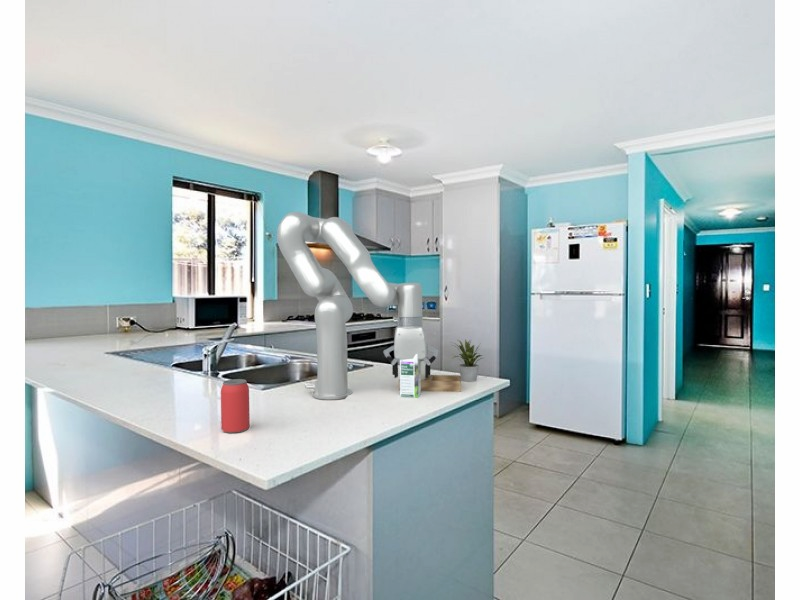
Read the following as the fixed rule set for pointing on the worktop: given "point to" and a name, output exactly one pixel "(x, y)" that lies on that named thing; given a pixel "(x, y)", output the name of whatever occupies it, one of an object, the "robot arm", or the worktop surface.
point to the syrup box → (410, 377)
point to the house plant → (468, 362)
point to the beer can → (235, 406)
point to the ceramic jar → (423, 370)
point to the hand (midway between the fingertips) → (411, 377)
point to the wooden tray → (441, 383)
